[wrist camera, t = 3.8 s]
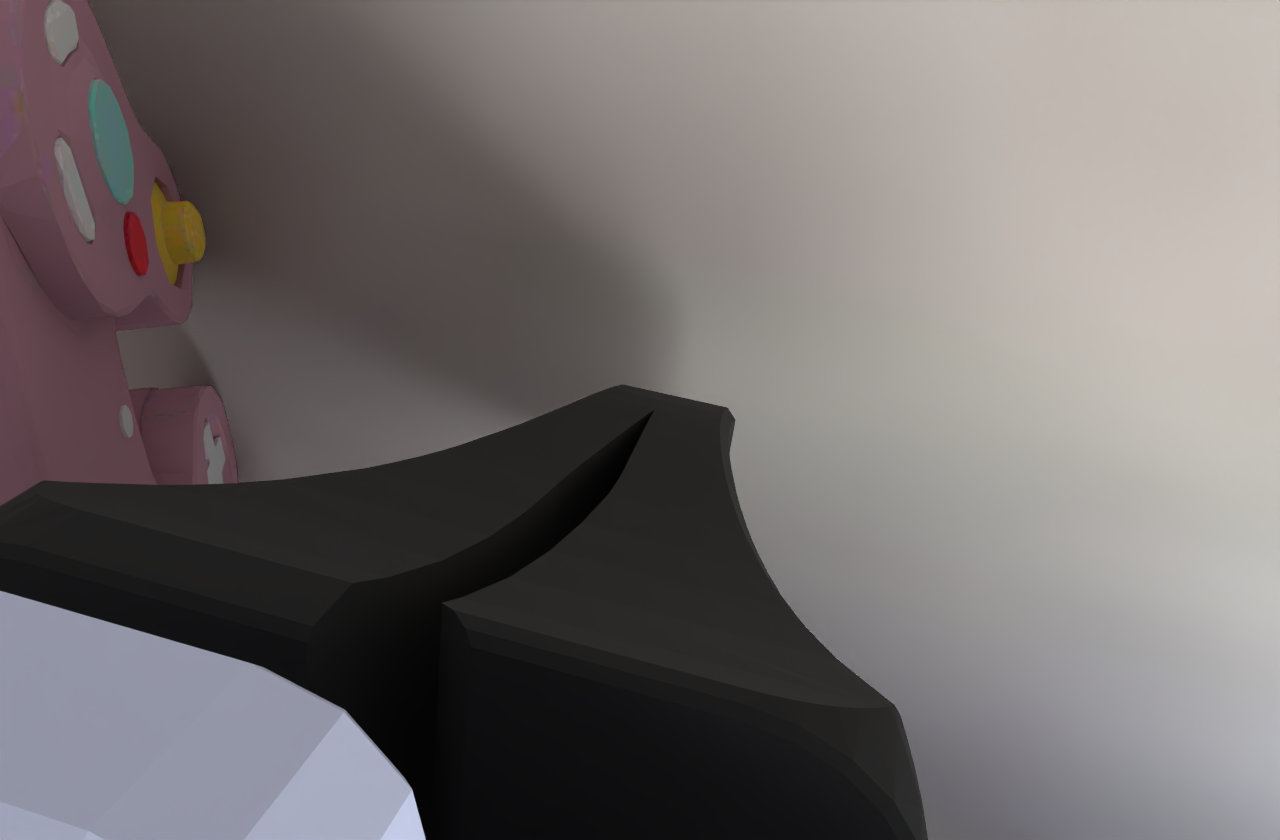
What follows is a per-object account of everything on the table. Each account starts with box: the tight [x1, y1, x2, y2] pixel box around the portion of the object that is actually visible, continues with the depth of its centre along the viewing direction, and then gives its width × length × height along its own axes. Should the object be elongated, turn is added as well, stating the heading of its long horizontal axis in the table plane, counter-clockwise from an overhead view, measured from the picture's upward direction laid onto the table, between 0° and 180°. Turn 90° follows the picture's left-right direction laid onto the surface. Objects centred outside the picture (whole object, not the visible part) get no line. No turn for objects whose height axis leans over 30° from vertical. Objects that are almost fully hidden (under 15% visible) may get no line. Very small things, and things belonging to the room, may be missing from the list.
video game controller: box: [0, 0, 238, 506], centre depth 12 cm, size 10×5×7 cm, turn 3°
